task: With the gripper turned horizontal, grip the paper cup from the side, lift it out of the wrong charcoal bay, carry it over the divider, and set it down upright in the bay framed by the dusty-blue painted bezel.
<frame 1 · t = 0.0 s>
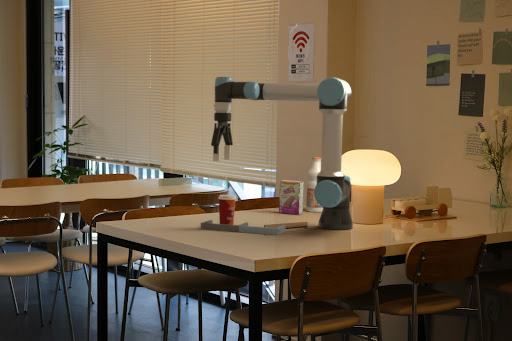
hand: (221, 160, 326), 28 cm above the table, tool pointing down, fingers open, 13 cm apart
fruit juice: (315, 211, 380), on the table
candy bar box: (290, 214, 368), on the table
paper cup: (226, 228, 315), on the table
bay organizer: (244, 229, 313), on the table
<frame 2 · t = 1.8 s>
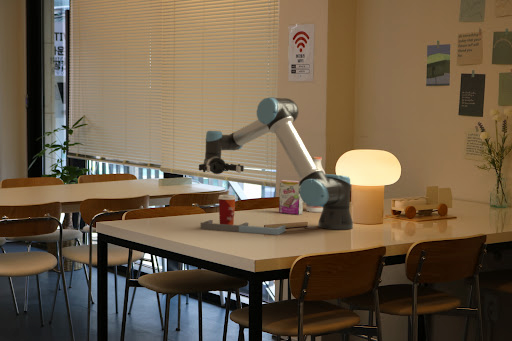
hand: (224, 169, 322), 24 cm above the table, tool horizontal, fingers open, 13 cm apart
nothing on the table moved.
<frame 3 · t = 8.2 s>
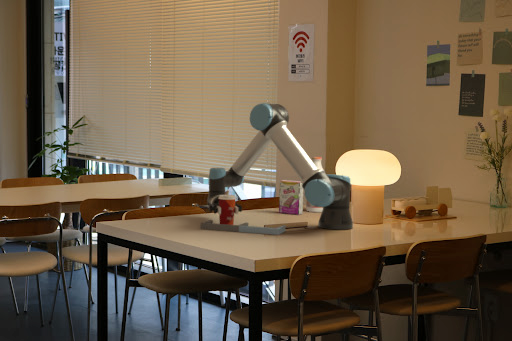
hand: (228, 211, 310), 8 cm above the table, tool horizontal, fingers closed on paper cup, 7 cm apart
paper cup: (226, 228, 315), on the table, touching gripper
everything else where it was.
when the fingers open (9 cm above the table, at t = 13.4 s): paper cup drops 1 cm, on the table.
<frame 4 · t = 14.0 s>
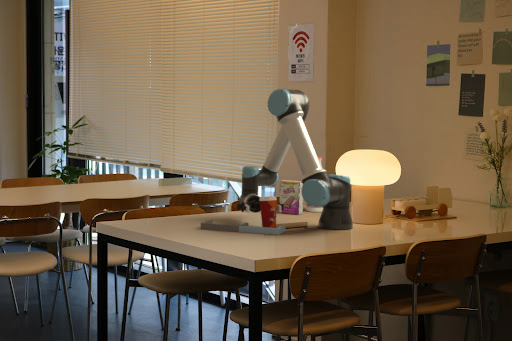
hand: (264, 209, 306), 10 cm above the table, tool horizontal, fingers open, 13 cm apart
paper cup: (269, 230, 311), on the table, touching gripper
everything else where it was.
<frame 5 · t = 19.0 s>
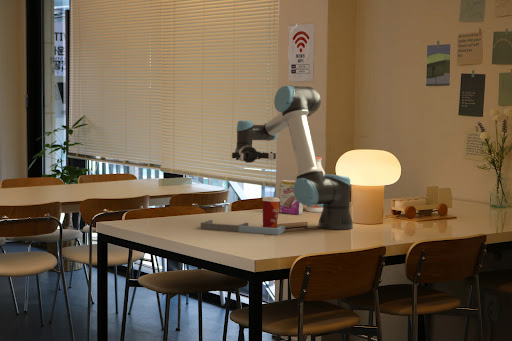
hand: (257, 156, 327), 30 cm above the table, tool horizontal, fingers open, 13 cm apart
paper cup: (269, 230, 312), on the table
everything else where it was.
at the end: paper cup inside the target area (3.3 cm from its centre), on the table; paper cup tilted 1°; the gripper is holding nothing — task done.
